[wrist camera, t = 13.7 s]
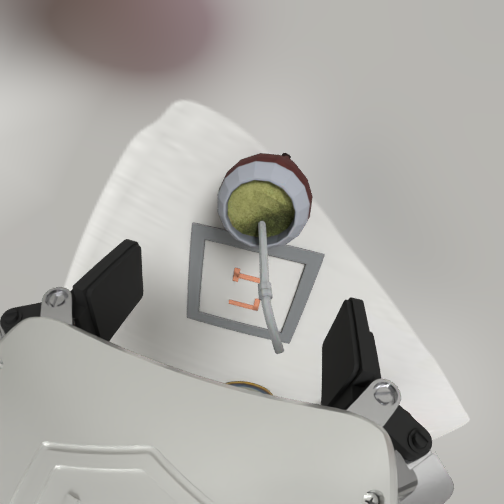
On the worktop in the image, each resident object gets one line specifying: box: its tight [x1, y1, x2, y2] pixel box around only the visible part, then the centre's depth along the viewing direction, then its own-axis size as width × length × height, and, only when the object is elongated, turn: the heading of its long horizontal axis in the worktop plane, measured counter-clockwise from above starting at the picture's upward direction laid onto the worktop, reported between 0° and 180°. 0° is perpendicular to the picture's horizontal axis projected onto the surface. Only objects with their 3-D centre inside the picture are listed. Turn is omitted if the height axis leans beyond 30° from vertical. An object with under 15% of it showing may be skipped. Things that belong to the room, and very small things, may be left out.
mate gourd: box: [218, 153, 312, 354], centre depth 19 cm, size 8×8×15 cm
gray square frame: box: [187, 223, 324, 344], centre depth 32 cm, size 14×14×1 cm
